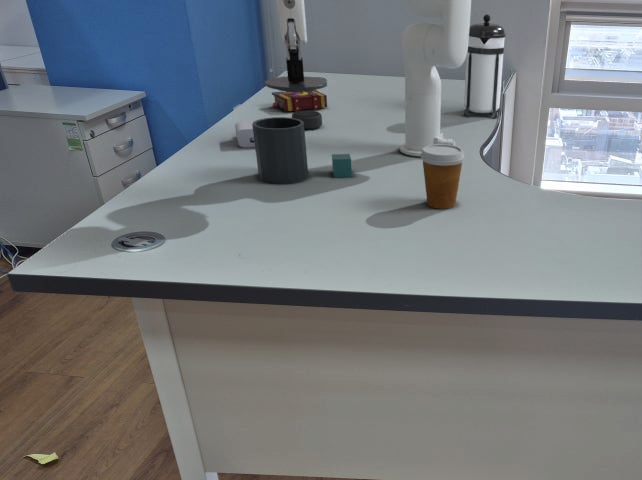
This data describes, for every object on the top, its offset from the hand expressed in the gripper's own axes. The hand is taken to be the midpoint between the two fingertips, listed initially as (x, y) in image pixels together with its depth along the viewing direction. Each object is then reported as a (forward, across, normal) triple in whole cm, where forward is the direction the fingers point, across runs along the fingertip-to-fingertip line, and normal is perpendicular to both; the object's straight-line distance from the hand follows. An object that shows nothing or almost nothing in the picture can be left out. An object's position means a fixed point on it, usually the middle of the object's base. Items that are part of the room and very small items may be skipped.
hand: (296, 79), depth 135 cm
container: (+24, +14, +5) cm, 28 cm away
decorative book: (+24, +89, 0) cm, 92 cm away
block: (+24, +14, -9) cm, 29 cm away
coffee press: (+24, +78, -60) cm, 101 cm away
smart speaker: (+24, +62, -2) cm, 67 cm away
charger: (+24, +48, +13) cm, 56 cm away
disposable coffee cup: (+24, -10, -29) cm, 39 cm away
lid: (+1, 0, 0) cm, 1 cm away
